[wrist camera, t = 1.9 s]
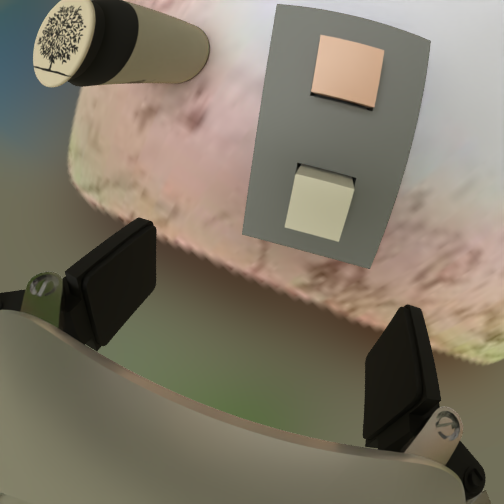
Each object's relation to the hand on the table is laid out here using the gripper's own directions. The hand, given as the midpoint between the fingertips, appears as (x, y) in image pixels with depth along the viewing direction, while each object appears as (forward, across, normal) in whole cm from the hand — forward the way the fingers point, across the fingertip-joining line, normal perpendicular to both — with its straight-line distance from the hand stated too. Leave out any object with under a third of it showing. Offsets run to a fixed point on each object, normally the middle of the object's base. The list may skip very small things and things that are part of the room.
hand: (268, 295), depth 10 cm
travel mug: (+23, +18, -10) cm, 31 cm away
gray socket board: (+23, -1, -4) cm, 23 cm away
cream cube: (+20, -1, +2) cm, 20 cm away
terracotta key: (+20, -1, -10) cm, 22 cm away
